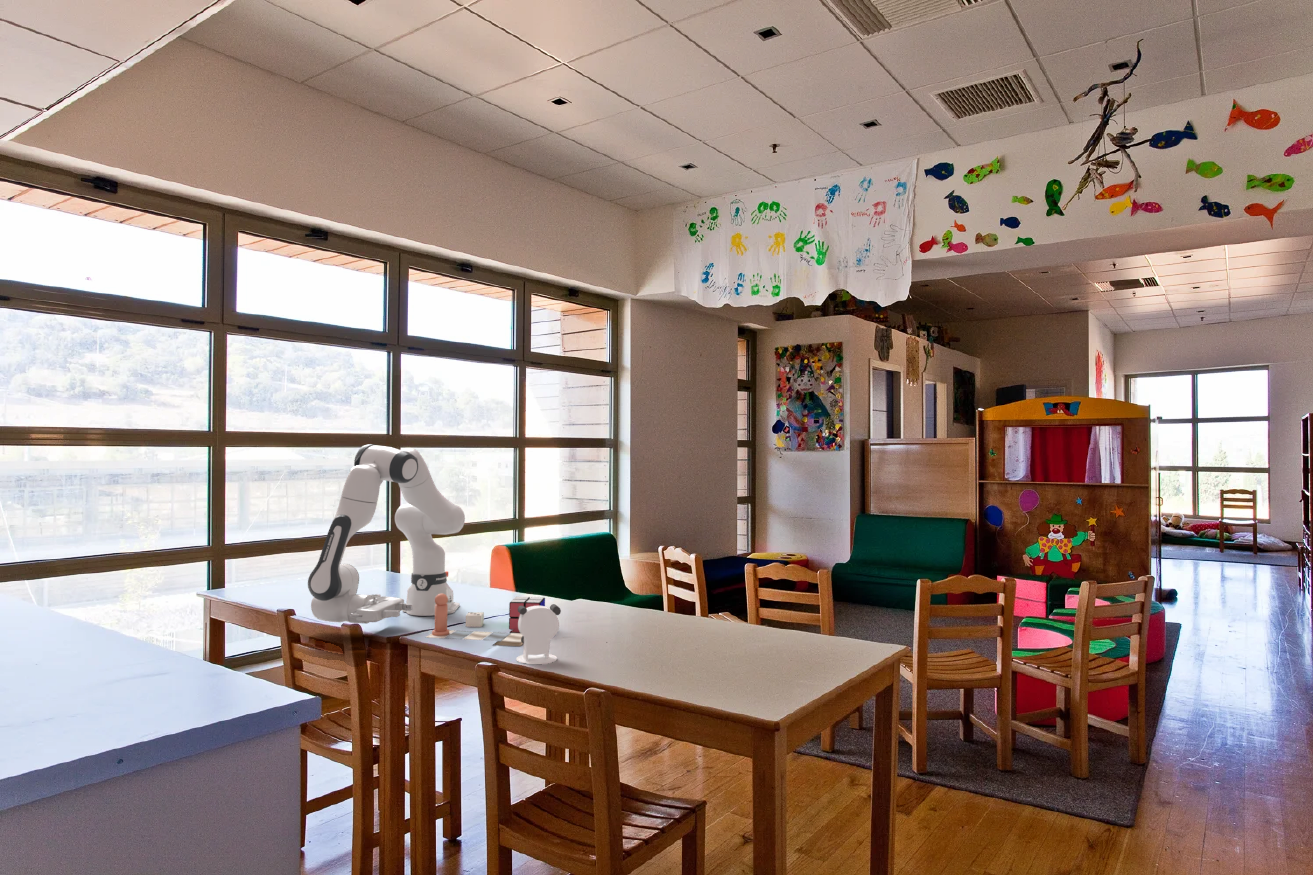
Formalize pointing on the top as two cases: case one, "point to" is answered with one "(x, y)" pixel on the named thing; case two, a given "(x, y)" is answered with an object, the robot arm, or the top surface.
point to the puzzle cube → (521, 601)
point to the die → (474, 619)
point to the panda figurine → (537, 633)
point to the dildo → (441, 615)
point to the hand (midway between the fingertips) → (405, 610)
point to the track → (501, 638)
